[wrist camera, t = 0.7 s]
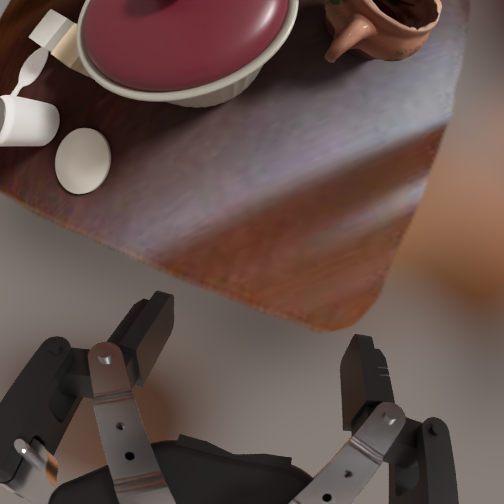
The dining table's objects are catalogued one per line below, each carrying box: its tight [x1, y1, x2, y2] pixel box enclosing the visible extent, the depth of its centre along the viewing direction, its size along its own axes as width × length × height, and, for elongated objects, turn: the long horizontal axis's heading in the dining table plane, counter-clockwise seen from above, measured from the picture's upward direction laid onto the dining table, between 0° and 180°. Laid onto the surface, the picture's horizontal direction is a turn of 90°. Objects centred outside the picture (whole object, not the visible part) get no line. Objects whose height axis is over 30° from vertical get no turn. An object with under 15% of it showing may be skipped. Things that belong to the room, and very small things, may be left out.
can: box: [0, 95, 60, 146], centre depth 27 cm, size 6×6×12 cm
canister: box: [76, 0, 299, 108], centre depth 22 cm, size 18×18×21 cm
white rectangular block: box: [29, 9, 74, 52], centre depth 26 cm, size 5×5×6 cm
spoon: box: [11, 47, 49, 96], centre depth 31 cm, size 5×18×1 cm, turn 135°
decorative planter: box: [324, 0, 442, 63], centre depth 24 cm, size 20×12×14 cm, turn 146°
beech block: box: [51, 23, 92, 78], centre depth 28 cm, size 5×5×6 cm
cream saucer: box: [55, 128, 111, 194], centre depth 34 cm, size 9×9×1 cm
